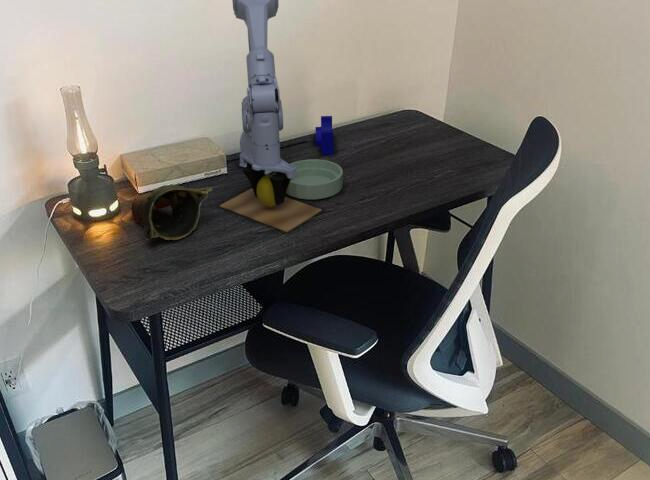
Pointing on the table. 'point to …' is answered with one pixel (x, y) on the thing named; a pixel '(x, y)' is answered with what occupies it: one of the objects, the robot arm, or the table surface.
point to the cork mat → (271, 211)
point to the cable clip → (325, 135)
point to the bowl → (315, 179)
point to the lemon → (266, 191)
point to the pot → (177, 200)
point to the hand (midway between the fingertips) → (269, 199)
